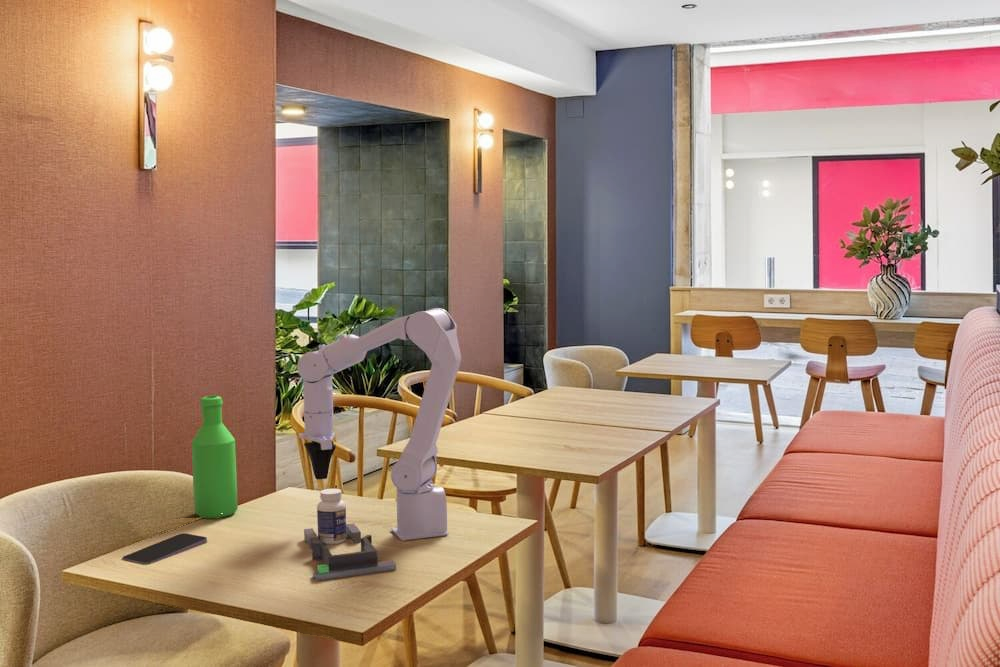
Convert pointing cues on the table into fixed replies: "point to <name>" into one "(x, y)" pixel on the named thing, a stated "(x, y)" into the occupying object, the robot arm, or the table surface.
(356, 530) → the grey u-shaped piece
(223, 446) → the bottle
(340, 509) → the pill bottle
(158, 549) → the smartphone
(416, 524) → the robot arm
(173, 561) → the table surface
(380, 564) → the grey bottle cradle
